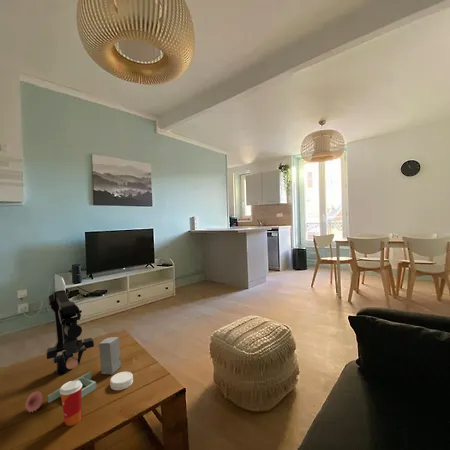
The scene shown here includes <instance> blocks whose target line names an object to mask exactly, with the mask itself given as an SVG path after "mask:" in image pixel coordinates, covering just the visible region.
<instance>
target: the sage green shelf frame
mask: <svg viewBox="0 0 450 450" xmlns="http://www.w3.org/2000/svg"><path fill="white" fill-rule="evenodd" d="M75 380H76V381H77V380H79V381H80V382H81V383H82V386H85V387H82V388H83V389H82V395H81V399H82V398H85V396H88V395H89V394H90V393H92V392H93V391H95V390H96V389H97V381H94V380H92V371H89V372H87V373H85V374H83V375H81V376H79V377H78V378H76V379H74V380H73V381H75ZM60 390H61V387H60V388H58V389H57V390H54V391H53V392H51V393H49V394H47V403H51V402H53V401H55V400H56V399H58V398H61V394H60Z"/></svg>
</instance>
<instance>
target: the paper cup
mask: <svg viewBox="0 0 450 450" xmlns="http://www.w3.org/2000/svg"><path fill="white" fill-rule="evenodd" d="M74 380H75V381H74ZM74 380H70V381H67V382H65V383H64V384H63V385H61V387H60V388H61V390H60V394H61V397H60V398H61V406H62V413H63V419H64V420H63V421H64V425H65V426H66V427H72V426H75V425H76V424H78V423H79V422H81V419H82V398H81V395H82V388H83V385H82V383H81V382H80V381H79V380H77V381H76V379H74Z"/></svg>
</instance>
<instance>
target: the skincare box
mask: <svg viewBox="0 0 450 450" xmlns="http://www.w3.org/2000/svg"><path fill="white" fill-rule="evenodd" d="M98 348H99V359H100V373H101V374H102V375H112V376H114V375H113V374H115V373H116V372H117V371H118V370H119V369H120V368H121V367H122V362H121V361H122V360H121V359H122V358H121V351H120V348H121V347H120V337H118V336H114V337H113V336H109V337H107V338H105V339H103V340H102V341H101V342H99V343H98Z"/></svg>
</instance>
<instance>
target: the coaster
mask: <svg viewBox="0 0 450 450" xmlns="http://www.w3.org/2000/svg"><path fill="white" fill-rule="evenodd" d="M133 383H134V374H133V373H132V372H130V371H121V372H118V373H116V374H115V373H114V375H112V376H111V378H110V380H109V384H110V389H112V390H113V391H122V390H125V389H127V388H130V387H131V386H132V384H133Z"/></svg>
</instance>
